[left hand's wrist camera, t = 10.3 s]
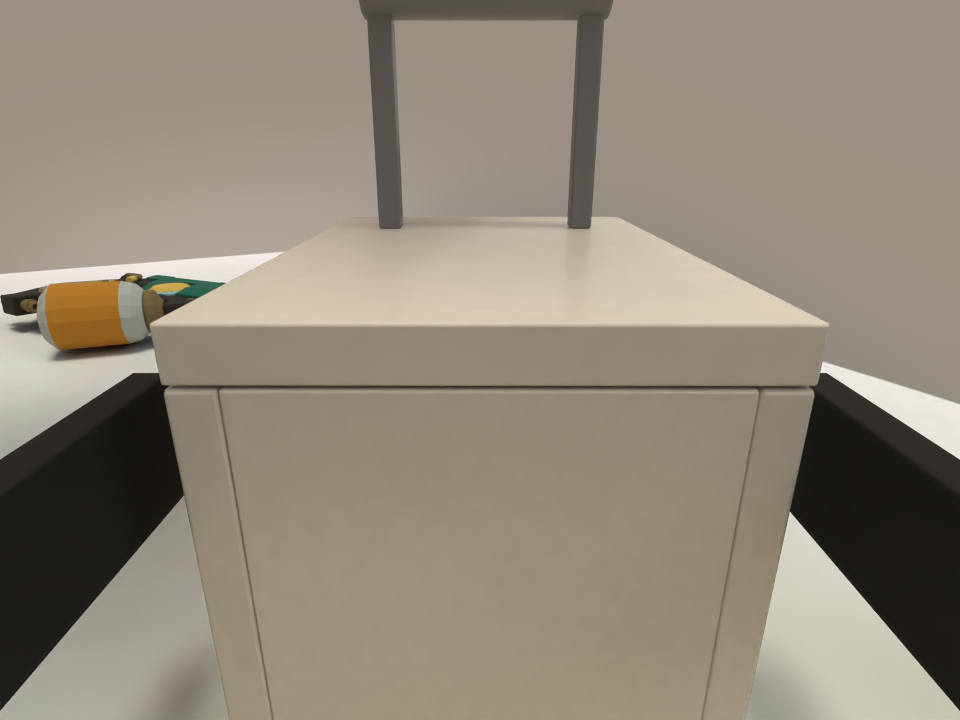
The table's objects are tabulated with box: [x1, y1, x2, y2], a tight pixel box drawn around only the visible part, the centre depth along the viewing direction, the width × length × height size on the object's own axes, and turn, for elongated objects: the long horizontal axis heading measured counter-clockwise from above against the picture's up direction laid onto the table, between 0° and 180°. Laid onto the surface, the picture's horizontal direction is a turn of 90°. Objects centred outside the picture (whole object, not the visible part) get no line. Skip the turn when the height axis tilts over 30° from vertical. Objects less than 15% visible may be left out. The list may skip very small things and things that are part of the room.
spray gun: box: [0, 273, 226, 350], centre depth 43 cm, size 4×17×15 cm
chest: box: [164, 385, 814, 720], centre depth 17 cm, size 14×10×9 cm
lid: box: [150, 0, 830, 386], centre depth 14 cm, size 14×10×9 cm
